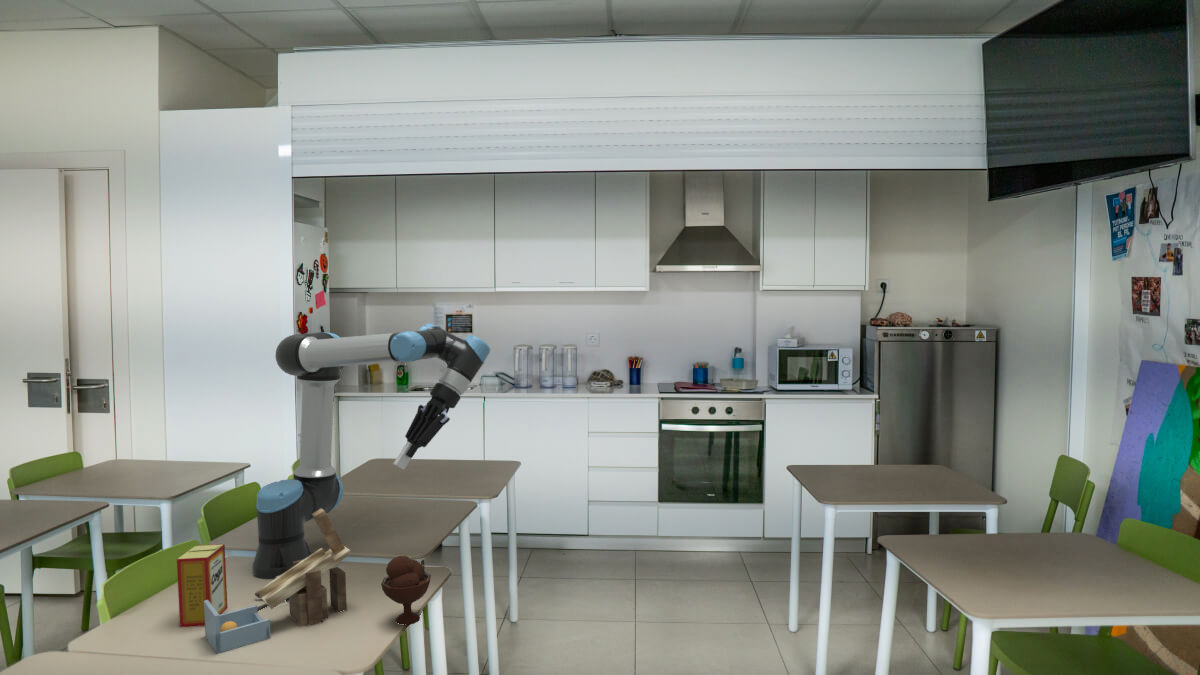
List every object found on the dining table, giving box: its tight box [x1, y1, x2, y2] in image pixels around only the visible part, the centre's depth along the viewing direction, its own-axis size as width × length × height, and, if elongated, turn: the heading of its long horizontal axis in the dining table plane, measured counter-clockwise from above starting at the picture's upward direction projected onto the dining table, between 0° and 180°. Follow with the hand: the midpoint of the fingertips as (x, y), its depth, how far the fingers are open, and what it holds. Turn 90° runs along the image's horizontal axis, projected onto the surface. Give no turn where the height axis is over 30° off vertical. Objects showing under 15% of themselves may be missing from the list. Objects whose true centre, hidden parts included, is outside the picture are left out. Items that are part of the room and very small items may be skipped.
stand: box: [288, 559, 348, 627], centre depth 169 cm, size 11×10×12 cm
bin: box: [204, 600, 271, 654], centre depth 158 cm, size 11×11×8 cm
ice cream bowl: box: [380, 555, 432, 626], centre depth 165 cm, size 11×11×15 cm
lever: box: [256, 509, 352, 610], centre depth 166 cm, size 20×7×12 cm, turn 130°
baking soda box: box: [176, 543, 228, 628], centre depth 168 cm, size 10×6×16 cm
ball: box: [220, 621, 238, 632], centre depth 157 cm, size 4×4×4 cm
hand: (398, 466), depth 184 cm, fingers closed
